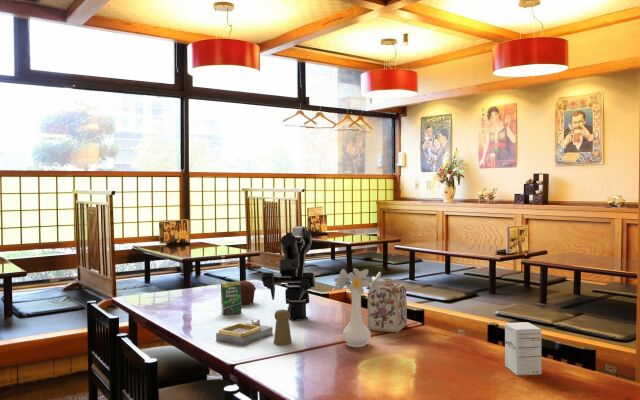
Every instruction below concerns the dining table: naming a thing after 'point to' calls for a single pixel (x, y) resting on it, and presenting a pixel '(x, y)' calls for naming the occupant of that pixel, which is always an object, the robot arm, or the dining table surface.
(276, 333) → the cork
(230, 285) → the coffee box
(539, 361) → the supplement box
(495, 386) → the dining table surface
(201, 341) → the dining table surface
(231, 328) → the grey base with knob
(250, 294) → the muffin
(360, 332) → the flower vase
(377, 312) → the decorative jar
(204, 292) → the dining table surface
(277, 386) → the dining table surface
